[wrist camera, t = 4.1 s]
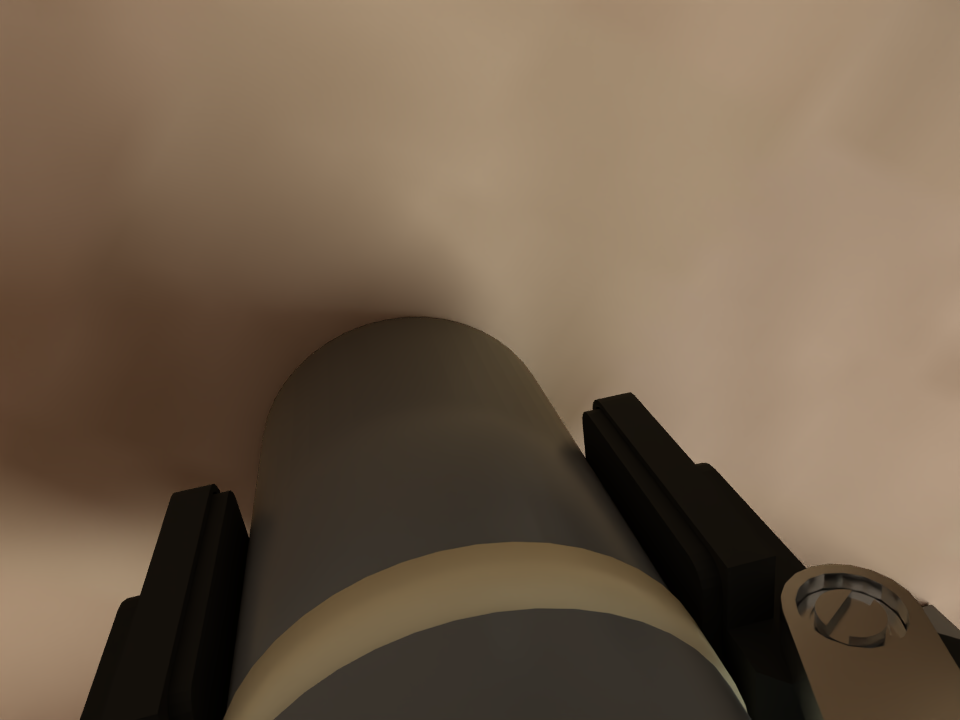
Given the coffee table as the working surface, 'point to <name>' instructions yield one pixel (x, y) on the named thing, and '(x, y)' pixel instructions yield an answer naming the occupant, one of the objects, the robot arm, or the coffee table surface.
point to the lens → (449, 553)
